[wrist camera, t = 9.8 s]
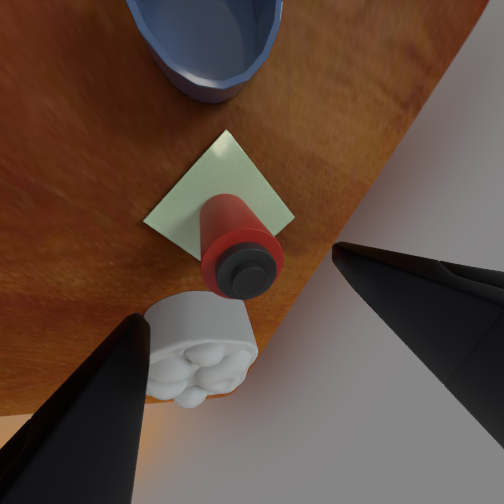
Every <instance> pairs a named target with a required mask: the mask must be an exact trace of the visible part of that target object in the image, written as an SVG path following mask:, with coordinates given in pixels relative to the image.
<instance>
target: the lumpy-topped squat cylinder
mask: <svg viewBox="0 0 504 504" xmlns="http://www.w3.org/2000/svg"><path fill="white" fill-rule="evenodd" d="M144 318H145V319H146V321H147V322H148V323H149V324H150V327H151V339H150V366H149V374H148V382H147V389H146V394H147V395H150V396H153V397H155V398H157V399H161V400H169V399H173V400H174V401H175V402H176V403H177V404H178V405H179V406H181V407H183V408H193V407H196V406H197V405H199V404H201V403H202V402H203V400H204V399H205V397H206V396H207V395H214V394H225V393H229V392H231V391H233V390H234V389H235V388H236V387H237V386H238V385H240V384H241V383H242V382H243V380H244V379H245V377H246V373H247V370H248V368H249V367H250V365H251V364H252V363H253V362H254V360H255V359H256V357H257V355H258V348H257V345H256V341H255V338H254V334H253V331H252V328H251V324H250V321H249V318H248V314H247V311H246V307H245V304H244V302H243V301H242V300H237V299H227V298H223V297H221V296H218V295H216V294H215V293H213V292H208V291H187V292H183V293H179V294H176V295H172V296H169V297H167V298H164V299H162V300H160V301H158V302H157V303H155V304H154V305H153V306H151V307H150V308H149V309H148V310H147V311H146V313H145V315H144Z"/></svg>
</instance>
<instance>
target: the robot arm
mask: <svg viewBox="0 0 504 504" xmlns="http://www.w3.org/2000/svg"><path fill="white" fill-rule="evenodd" d="M332 260H333V263H334V264H335V266H336V267H337V268H338V269H339V271H340V272H341V273H342V275H343V276H344V277H345V279H346V280H347V281H348V283H349V284H350V285H351V286H352V287H353V289H354V290H355V291H356V292H357V293H358V294H359V295H360V296H361V297H362V298H363V300H364V301H366V303H367V304H368V305H369V306H370V307H371V308H372V309H373V310H374V311H375V312H376V313H377V314H378V315H379V317H380V318H381V319H382V320H384V322H385V323H386V324H387V325H388V326H389V327H390V328H391V329H392V330H393V331H394V332H395V334H397V336H398V337H399V338H400V339H401V340H402V341H403V342H404V343H405V344H406V345H407V346H408V347H409V348H410V349H411V350H412V352H413V353H414V354H415V355H416V356H417V357H418V358H419V359H420V360H421V361H422V362H423V363H424V364H425V365H426V367H428V369H429V370H430V371H431V372H432V373H433V374H434V375H435V376H436V377H437V378H438V379H439V380H440V381H441V382H442V383H443V384H444V386H445V387H446V388H447V389H448V390H449V391H450V392H451V393H452V394H453V395H454V397H455V398H457V400H458V401H459V402H460V403H461V404H462V405H463V406H464V407H465V408H466V409H467V410H468V411H469V412H470V414H471V415H472V416H473V417H474V418H475V419H476V420H477V421H478V422H479V423H480V424H481V425H482V426H483V427H484V428H485V429H486V431H488V433H489V434H490V435H491V436H492V437H493V438H494V439H495V440H496V441H497V442H498V443H499V444H500V445H501V446H502V447H503V449H504V272H501V271H495V270H489V269H482V268H476V267H471V266H465V265H460V264H454V263H449V262H444V261H438V260H434V259H428V258H424V257H418V256H413V255H408V254H403V253H398V252H393V251H388V250H383V249H378V248H373V247H367V246H362V245H357V244H352V243H347V242H338V243H335V244H333V246H332ZM150 339H151V327H150V324H149V323H148V322H147V321H146V319H145V318H144V317H143V316H142V315H141V314H140V313H134V314H131V315H129V316H127V317H126V318H125V319H124V320H123V321H122V322H121V323H120V324H119V325H118V326H117V327H116V328H115V329H114V330H113V332H112V333H111V334H110V335H109V336H108V337H107V338H106V339H105V340H104V341H103V342H102V343H101V344H100V345H99V346H98V347H97V348H96V349H95V350H94V351H93V353H92V354H91V355H90V356H89V357H88V358H87V359H86V360H85V361H84V362H83V363H82V364H81V365H80V366H79V367H78V368H77V369H76V370H75V371H74V372H73V374H72V375H71V376H70V377H69V378H68V379H67V380H66V381H65V382H64V383H63V384H62V385H61V386H60V387H59V388H58V389H57V390H56V391H55V392H54V393H53V395H52V396H51V397H50V398H49V399H48V400H47V401H46V402H45V403H44V404H43V405H42V406H41V407H40V408H39V409H38V410H37V411H36V412H35V413H34V414H33V416H32V418H31V419H29V420H28V421H27V422H26V423H25V424H24V425H23V426H22V427H21V428H20V429H19V430H18V431H17V432H16V433H15V434H14V436H12V438H11V439H10V440H9V441H8V442H7V443H6V444H5V445H4V446H3V447H2V448H1V449H0V504H131V500H132V492H133V486H134V478H135V470H136V463H137V456H138V449H139V441H140V434H141V426H142V419H143V411H144V404H145V397H146V389H147V382H148V374H149V366H150Z"/></svg>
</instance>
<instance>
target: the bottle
mask: <svg viewBox="0 0 504 504" xmlns="http://www.w3.org/2000/svg"><path fill="white" fill-rule="evenodd" d="M200 255H201V275H202V278H203V281H204V283H205V284H206V286H207V287H208V288H209V289H210V290H211V291H212V292H213V293H215V294H216V295H218V296H221V297H223V298H227V299H237V300H247V299H251V298H255V297H257V296H259V295H261V294H263V293H264V292H265V291H267V290H268V289H269V288H270V287H271V285H272V284H273V283H274V282H275V281H276V280H277V278H278V277H279V275H280V273H281V270H282V268H283V262H284V255H283V250H282V247H281V245H280V244H279V242H278V241H277V240H276V238H275V237H274V236H273V235H272V234H271V232H270V231H269V230H268V229H267V228H266V227H265V225H264V224H263V223H262V222H261V221H260V220H259V218H258V217H257V216H256V215H255V214H254V213H253V211H252V210H251V209H250V208H249V207H248V206H247V204H246V203H245V202H244V201H243V200H242V199H241V198H239V197H237V196H235V195H232V194H218V195H215V196H213V197H211V198H210V199H209V200H207V201H206V203H205V204H204V205H203V207H202V209H201V212H200Z"/></svg>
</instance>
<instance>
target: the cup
mask: <svg viewBox="0 0 504 504" xmlns="http://www.w3.org/2000/svg"><path fill="white" fill-rule="evenodd" d="M282 2H283V0H126V3H127V5H128V7H129V9H130V12H131V14H132V16H133V18H134V20H135V23H136V25H137V27H138V29H139V31H140V33H141V35H142V37H143V39H144V41H145V43H146V45H147V47H148V49H149V51H150V53H151V55H152V57H153V59H154V61H155V63H156V64H157V65H158V67H159V68H160V69H161V71H162V72H163V73H164V75H165V76H166V77H167V78H168V80H169V81H170V82H171V83H172V84H173V85H174V86H175V87H176V88H178V89H179V90H180V91H181V92H183V93H184V94H186V95H187V96H189V97H191V98H193V99H195V100H198V101H201V102H205V103H220V102H224V101H227V100H229V99H231V98H233V97H235V96H236V95H238V94H239V92H240V91H241V90H242V89H243V88H244V87H245V86H246V85H247V83H248V82H249V81H250V80H251V79H252V77H253V76H254V75H255V74H256V72H257V71H258V70H259V69H260V67H261V66H262V65H263V64H264V62H265V61H266V60H267V58H268V56H269V53H270V51H271V48H272V45H273V43H274V40H275V37H276V35H277V32H278V30H279V27H280V23H281V13H282Z"/></svg>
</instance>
